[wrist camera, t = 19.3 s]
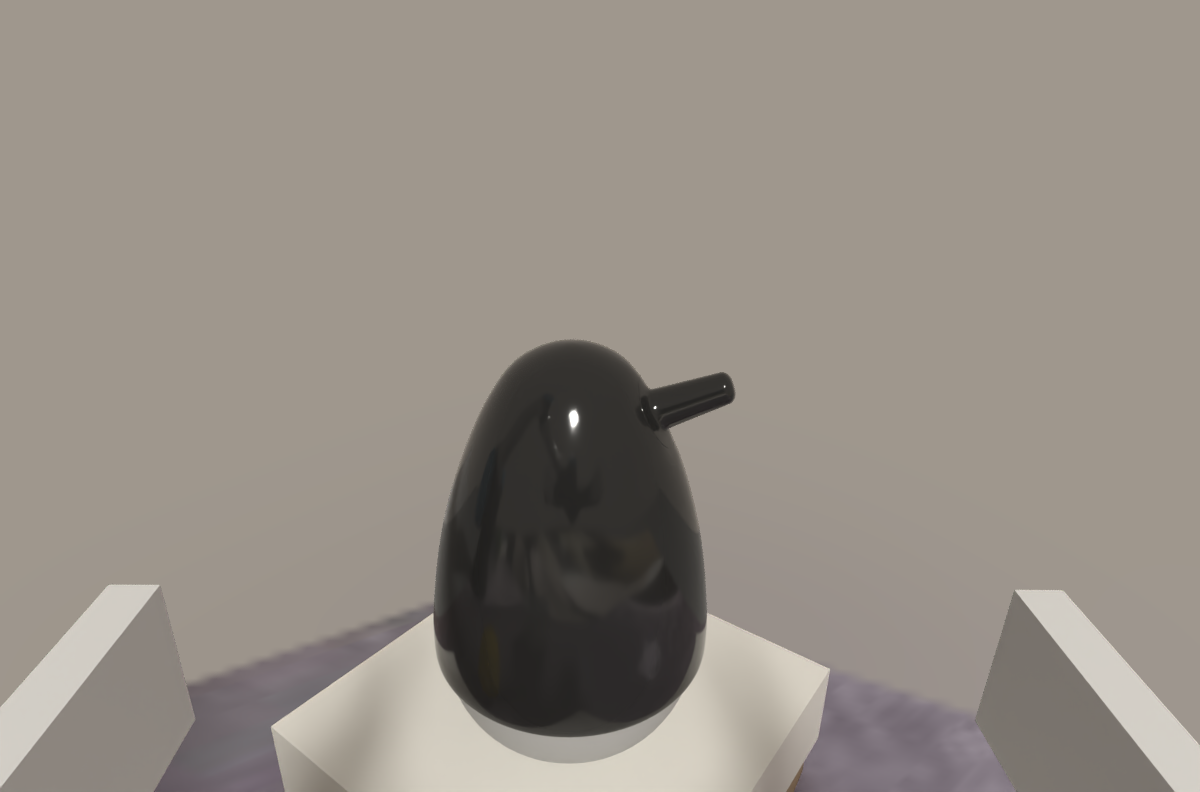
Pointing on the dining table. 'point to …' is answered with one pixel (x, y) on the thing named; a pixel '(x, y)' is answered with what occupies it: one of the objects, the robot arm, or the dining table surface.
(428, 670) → the tower top
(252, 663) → the dining table surface
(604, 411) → the pump dispenser
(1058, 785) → the robot arm
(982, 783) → the dining table surface
